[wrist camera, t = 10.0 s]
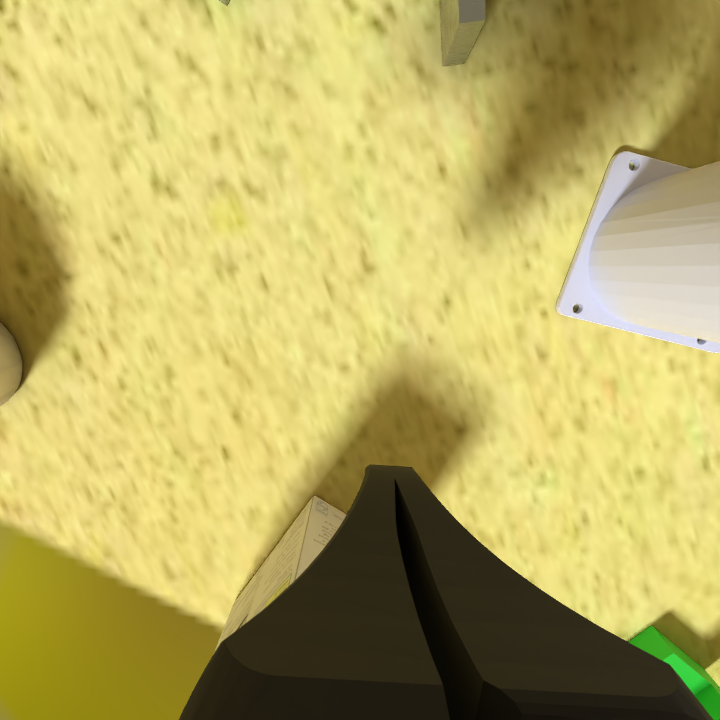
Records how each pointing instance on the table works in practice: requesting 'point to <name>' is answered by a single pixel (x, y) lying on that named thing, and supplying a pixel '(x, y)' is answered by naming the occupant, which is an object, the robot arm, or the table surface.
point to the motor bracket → (457, 28)
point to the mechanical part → (682, 668)
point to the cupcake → (9, 365)
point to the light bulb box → (286, 561)
